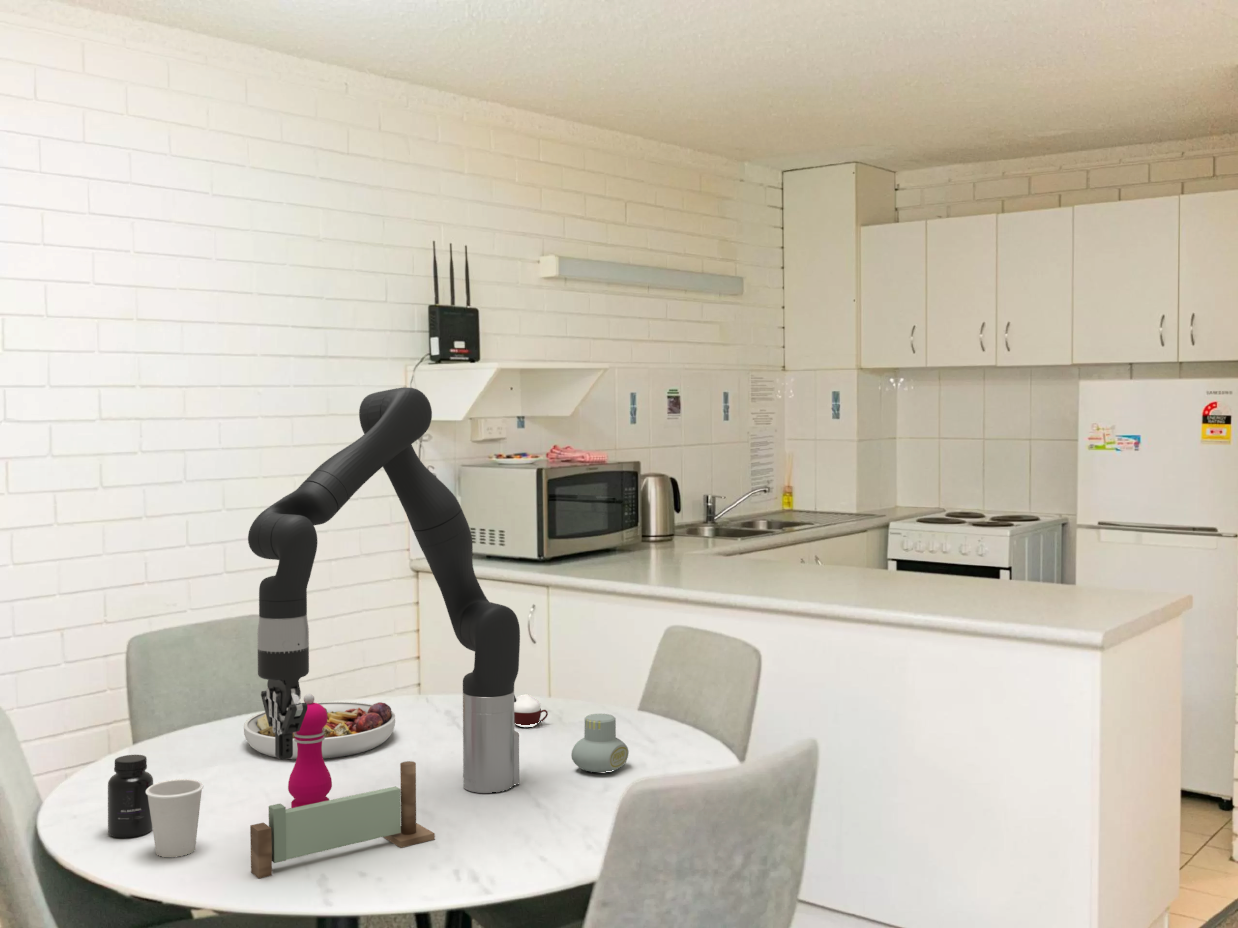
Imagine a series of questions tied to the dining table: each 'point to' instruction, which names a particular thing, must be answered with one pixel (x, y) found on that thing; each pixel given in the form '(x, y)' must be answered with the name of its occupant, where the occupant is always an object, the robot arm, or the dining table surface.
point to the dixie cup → (175, 815)
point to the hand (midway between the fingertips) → (284, 757)
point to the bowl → (333, 729)
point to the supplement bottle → (129, 798)
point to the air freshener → (600, 745)
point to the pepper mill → (310, 759)
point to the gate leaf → (333, 823)
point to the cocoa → (527, 710)
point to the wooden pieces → (407, 837)
